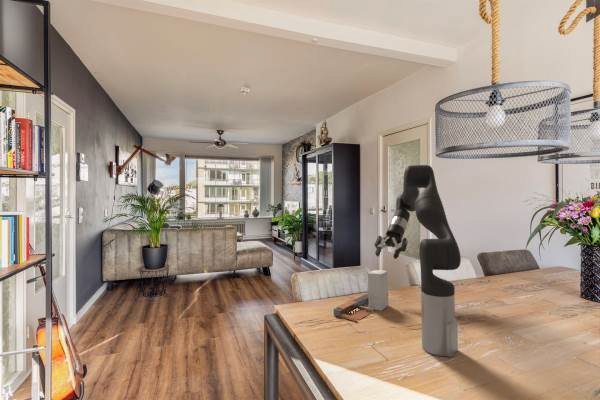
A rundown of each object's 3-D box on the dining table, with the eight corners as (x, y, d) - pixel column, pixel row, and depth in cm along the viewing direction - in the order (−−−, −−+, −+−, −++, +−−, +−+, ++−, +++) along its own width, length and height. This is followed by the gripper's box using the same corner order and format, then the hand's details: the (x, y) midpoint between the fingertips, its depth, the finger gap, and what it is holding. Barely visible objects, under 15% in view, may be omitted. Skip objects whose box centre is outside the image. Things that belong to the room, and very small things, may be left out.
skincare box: (381, 311, 125) (381, 274, 125) (367, 308, 129) (367, 272, 129) (389, 305, 132) (388, 270, 132) (375, 302, 136) (374, 268, 136)
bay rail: (367, 299, 141) (366, 292, 141) (387, 304, 134) (387, 297, 134) (333, 315, 122) (333, 308, 122) (355, 322, 115) (355, 314, 115)
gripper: (380, 222, 150) (368, 249, 142) (409, 224, 140) (398, 253, 132) (385, 232, 154) (374, 259, 146) (414, 234, 144) (403, 263, 136)
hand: (385, 256), depth 139 cm, fingers open, 8 cm apart
